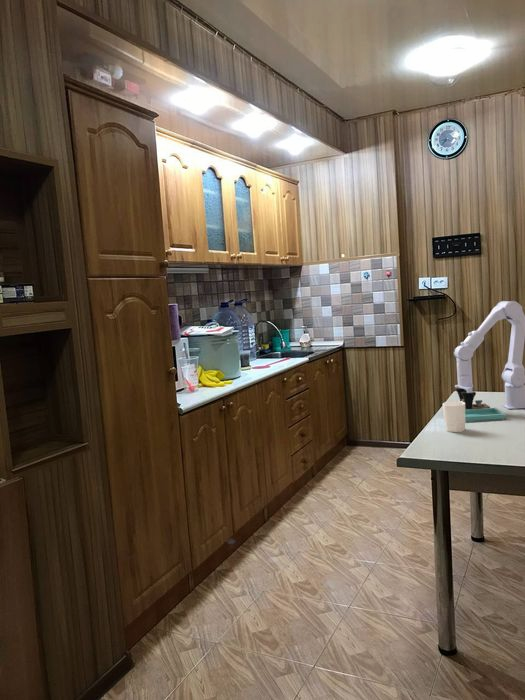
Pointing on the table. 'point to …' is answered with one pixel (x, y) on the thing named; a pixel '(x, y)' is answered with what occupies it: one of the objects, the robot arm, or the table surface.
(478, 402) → the stake
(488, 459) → the table surface
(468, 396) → the robot arm
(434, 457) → the table surface
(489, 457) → the table surface
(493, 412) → the tray
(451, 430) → the white cup
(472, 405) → the collar
